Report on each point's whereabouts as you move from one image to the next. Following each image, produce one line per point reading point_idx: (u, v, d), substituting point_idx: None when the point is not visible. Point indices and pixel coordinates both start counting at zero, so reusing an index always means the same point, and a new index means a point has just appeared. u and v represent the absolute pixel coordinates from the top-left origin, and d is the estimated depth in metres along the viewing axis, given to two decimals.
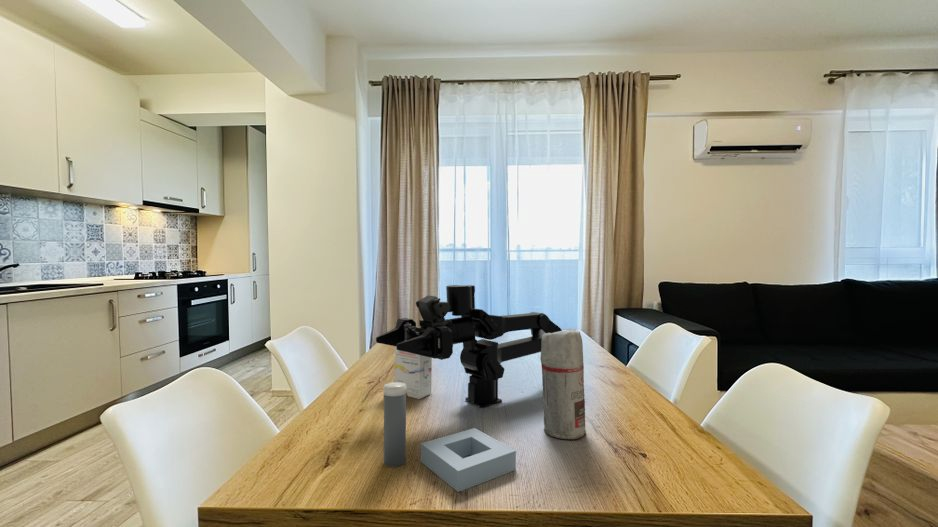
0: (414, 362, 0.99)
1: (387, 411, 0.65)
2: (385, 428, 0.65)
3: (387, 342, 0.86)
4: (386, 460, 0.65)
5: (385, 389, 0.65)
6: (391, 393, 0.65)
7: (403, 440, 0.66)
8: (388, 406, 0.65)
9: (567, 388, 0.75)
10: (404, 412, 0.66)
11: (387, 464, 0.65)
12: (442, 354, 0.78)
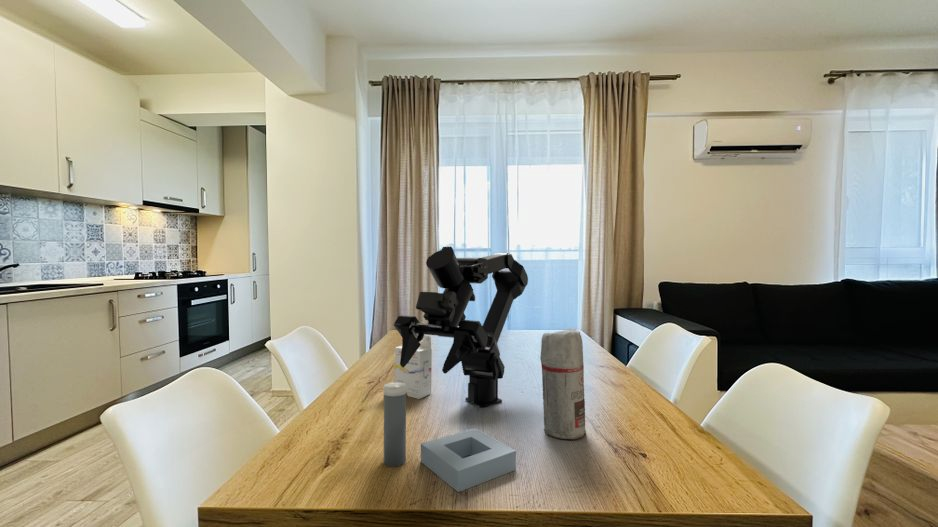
0: (414, 362, 0.99)
1: (387, 411, 0.65)
2: (385, 428, 0.65)
3: (409, 357, 0.78)
4: (386, 460, 0.65)
5: (385, 389, 0.65)
6: (391, 393, 0.65)
7: (403, 440, 0.66)
8: (388, 406, 0.65)
9: (567, 388, 0.75)
10: (404, 412, 0.66)
11: (387, 464, 0.65)
12: (483, 346, 0.75)
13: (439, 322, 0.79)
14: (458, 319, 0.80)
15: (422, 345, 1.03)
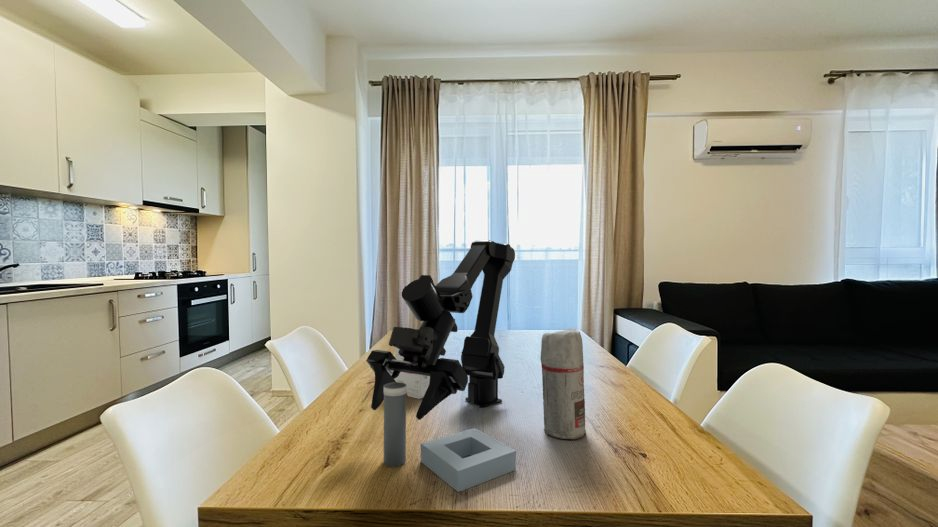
0: None
1: (387, 411, 0.65)
2: (385, 428, 0.65)
3: (382, 398, 0.71)
4: (386, 460, 0.65)
5: (385, 389, 0.65)
6: (391, 393, 0.65)
7: (403, 440, 0.66)
8: (388, 406, 0.65)
9: (567, 388, 0.75)
10: (404, 412, 0.66)
11: (387, 464, 0.65)
12: (462, 387, 0.68)
13: (415, 359, 0.72)
14: (436, 355, 0.73)
15: None
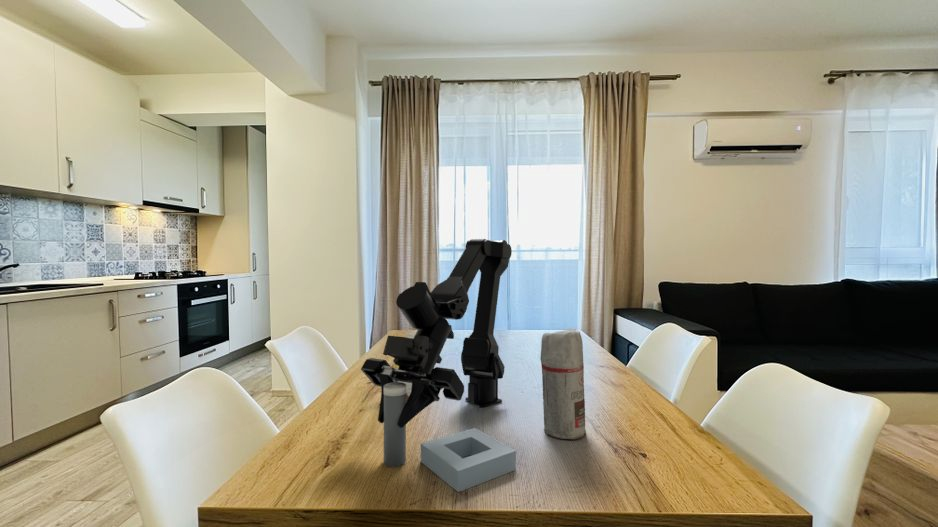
0: None
1: (387, 411, 0.65)
2: (385, 428, 0.65)
3: None
4: (386, 460, 0.65)
5: (385, 389, 0.65)
6: (391, 393, 0.65)
7: (403, 440, 0.66)
8: (388, 406, 0.65)
9: (567, 388, 0.75)
10: None
11: (387, 464, 0.65)
12: (458, 397, 0.67)
13: (410, 367, 0.71)
14: (432, 364, 0.71)
15: None
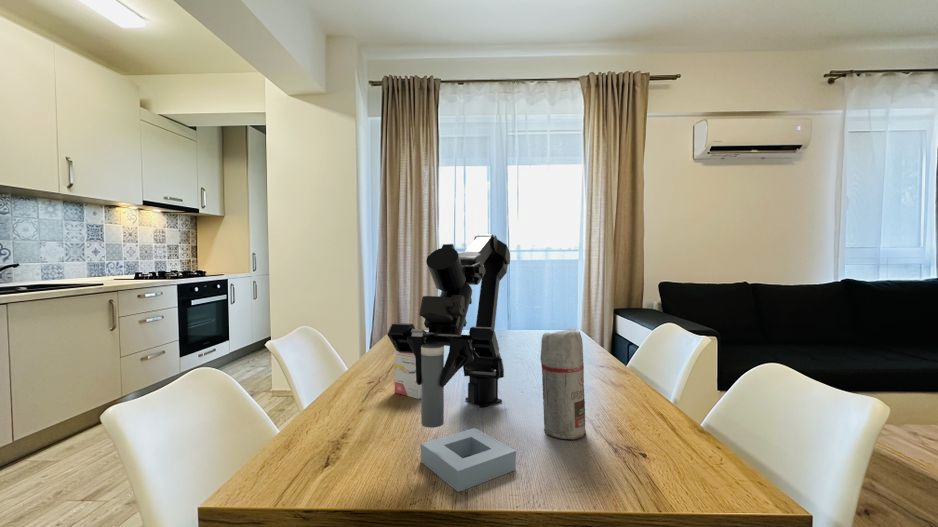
0: (414, 362, 0.99)
1: (427, 372, 0.64)
2: (425, 389, 0.64)
3: None
4: (426, 421, 0.64)
5: (425, 349, 0.64)
6: (432, 353, 0.64)
7: (442, 400, 0.65)
8: (428, 366, 0.64)
9: (567, 388, 0.75)
10: None
11: (428, 425, 0.64)
12: (495, 355, 0.68)
13: (441, 330, 0.70)
14: (462, 325, 0.71)
15: None
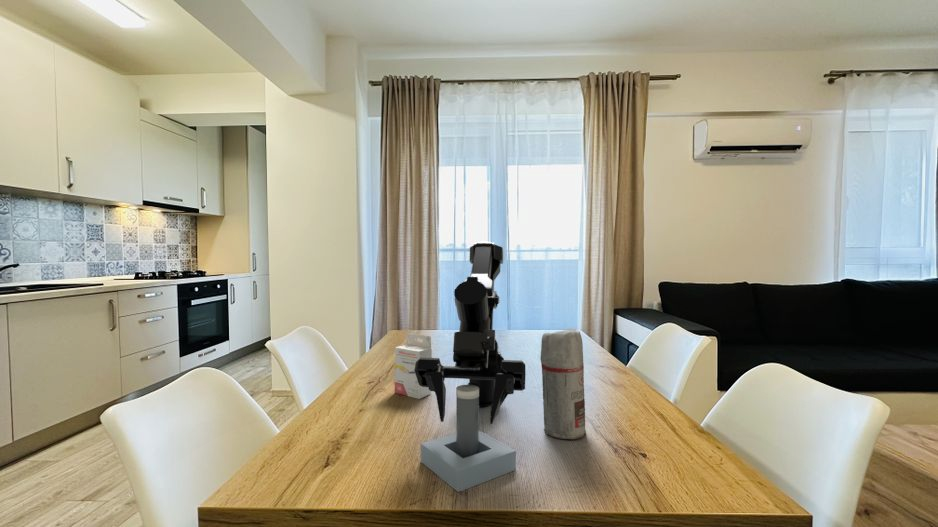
0: (414, 362, 0.99)
1: (465, 415, 0.63)
2: (462, 433, 0.64)
3: (444, 408, 0.67)
4: None
5: (462, 393, 0.64)
6: (470, 396, 0.63)
7: (478, 442, 0.65)
8: (466, 409, 0.63)
9: (567, 388, 0.75)
10: (478, 414, 0.65)
11: None
12: (523, 387, 0.69)
13: (468, 363, 0.70)
14: None
15: (422, 345, 1.03)
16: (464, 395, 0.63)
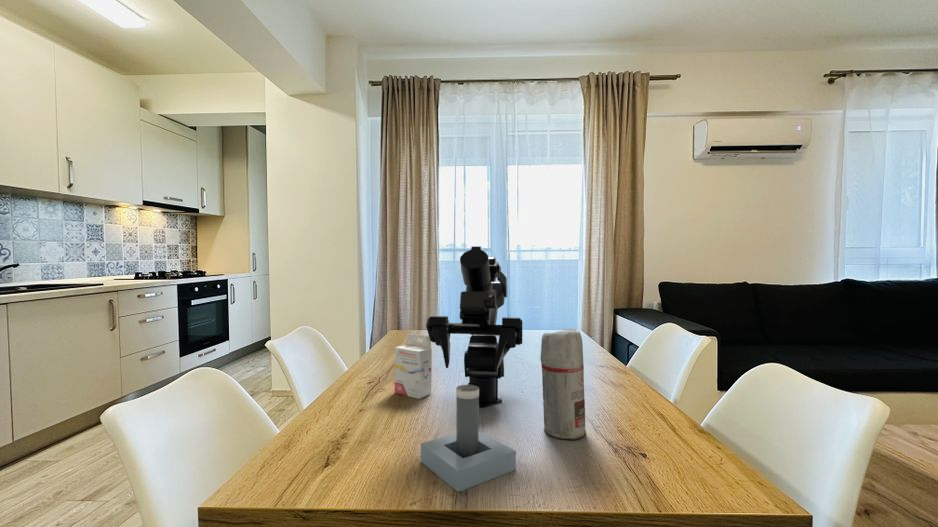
0: (414, 362, 0.99)
1: (465, 415, 0.63)
2: (462, 432, 0.64)
3: (449, 358, 0.77)
4: None
5: (462, 392, 0.64)
6: (470, 396, 0.63)
7: (478, 442, 0.65)
8: (466, 409, 0.63)
9: (567, 388, 0.75)
10: (478, 414, 0.65)
11: None
12: (521, 341, 0.80)
13: (473, 321, 0.81)
14: None
15: (422, 345, 1.03)
16: (464, 395, 0.63)
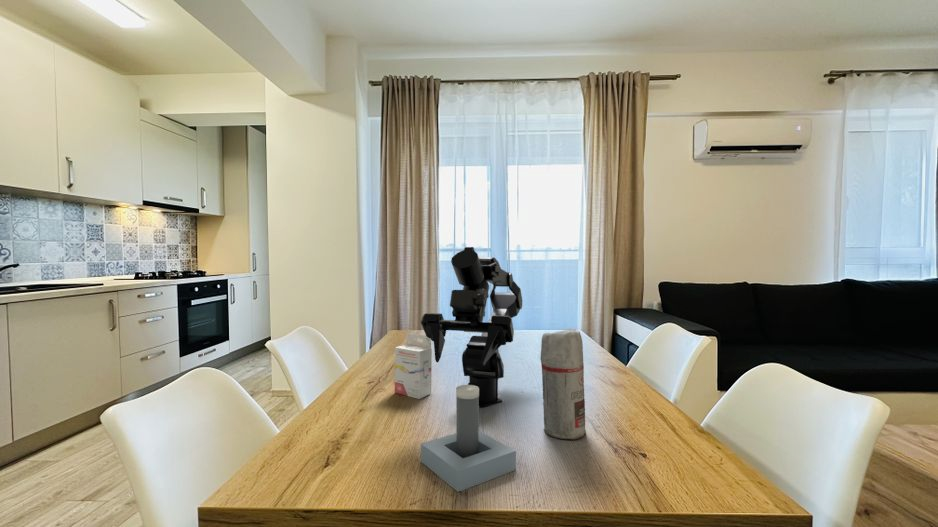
0: (414, 362, 0.99)
1: (465, 415, 0.63)
2: (462, 432, 0.64)
3: (440, 353, 0.81)
4: None
5: (462, 392, 0.64)
6: (470, 396, 0.63)
7: (478, 442, 0.65)
8: (466, 409, 0.63)
9: (567, 388, 0.75)
10: (478, 414, 0.65)
11: None
12: (511, 339, 0.82)
13: (466, 318, 0.84)
14: (483, 315, 0.85)
15: (422, 345, 1.03)
16: (464, 395, 0.63)
